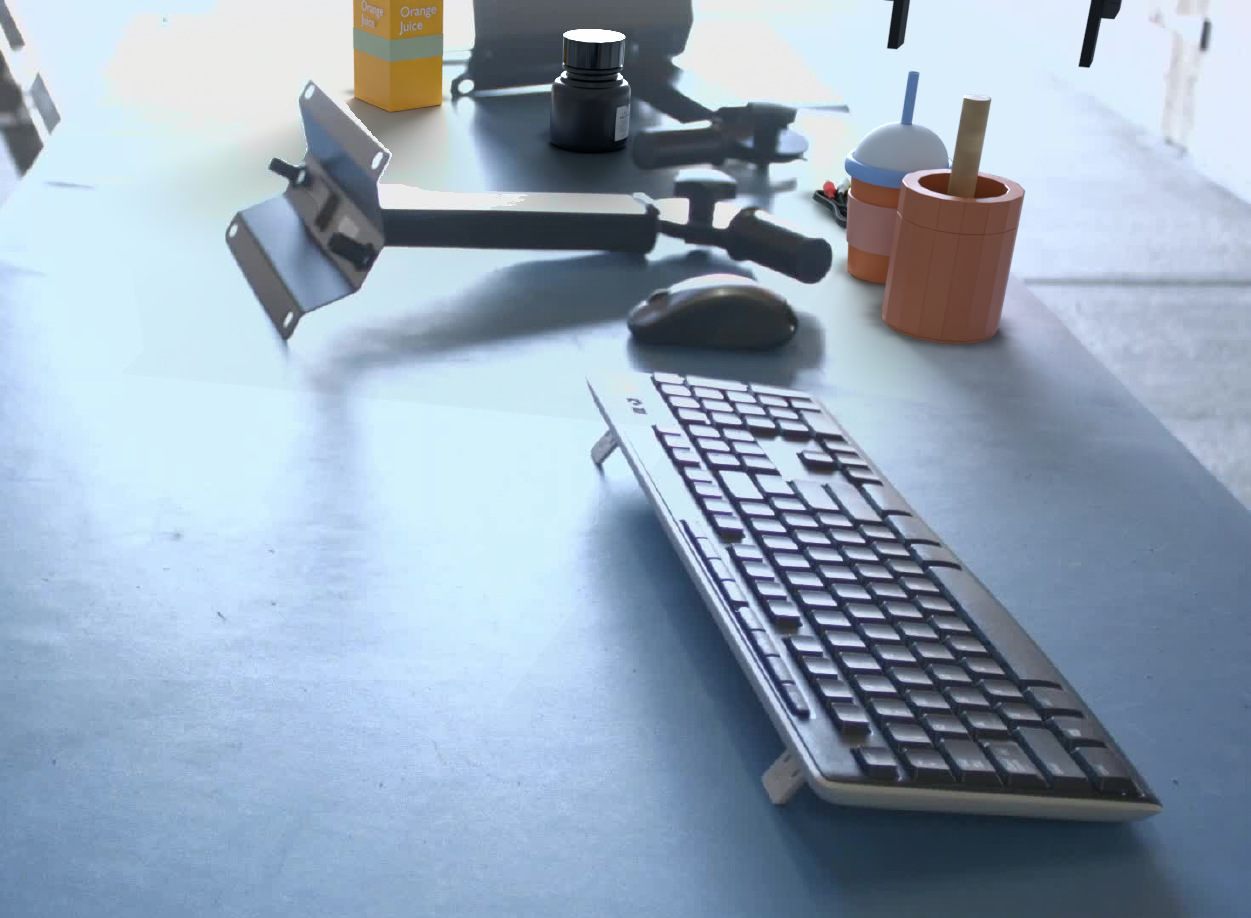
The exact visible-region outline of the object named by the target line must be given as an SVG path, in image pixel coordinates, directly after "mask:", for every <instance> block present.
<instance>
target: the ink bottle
mask: <svg viewBox="0 0 1251 918" xmlns="http://www.w3.org/2000/svg"><path fill="white" fill-rule="evenodd" d="M562 39H563V41H562V57H561V59H562V60H561V61H562V65H561V67H562V69H563V70H564V71H563V72H562V73H561V74H560V76H559V77H557V78H556V79H555V80H554V81H552V85H551V89H550V107H549V108H550V109H549V113H550V114H549V127H548V128H549V129H548V138H549V141H550V142H551V143H552V144H553V145H555V146H556V147H559V148H561V149H565V150H569V151H575V152H606V151H614V150H615V151H616V150H618V149H621V148H623V147H624V146H626V144H627V143H628V137H629V127H630V126H629V125H630V115H631V95H632V89H631V86H630V84H629V83H628V81H627V80H625V79H624V76H623V75H621V72H622V71H623V69H624V61H625V60H624V59H625V47H626V36H625V35H624V34H622V33H621V32H617V31H612V30H604V29H575V30H569V31H567V32H565V33H563V38H562Z"/></svg>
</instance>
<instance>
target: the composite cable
mask: <svg viewBox="0 0 1251 918" xmlns="http://www.w3.org/2000/svg"><path fill="white" fill-rule="evenodd" d="M850 188H851V180H850V179H849V178H848V177H847V176H845V177H843V178H841V179H840V180H839V182H838V184H837V187H836V186H835V184H834V182H833V181H830V180H829V179H825V181H824V183H823V185H822V189H816V190H814V193H813V195H812V197H811V198H812V199H813V201H815V202H816V203H818V204H820V205H821V206H823V207H826V208H827V209H829V210H830V211H832V213H833V215H834V220H835V222H836V223H837V225H839V226H840V227H843V228H847V207H848V191H849V189H850Z"/></svg>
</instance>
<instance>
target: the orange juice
mask: <svg viewBox="0 0 1251 918" xmlns="http://www.w3.org/2000/svg"><path fill="white" fill-rule="evenodd" d="M352 5H353V6H352V15H353V16H352V17H353V18H352V19H353V20H352V21H353V22H352V23H353V24H352V25H353V27H352V45H353V46H352V49H353V96H354V98H355V97H356V98H355V99H358V100H360V101H363V102H365V103H368V104H370V105H372V106H375V107H377V108H380V109H382V110H383V111H386V112H389V113H392V112H400V111H406V110H414V109H420V108H427V107H433V106H442V105H443V64H444V63H443V58H444V57H443V56H444V0H352Z"/></svg>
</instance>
